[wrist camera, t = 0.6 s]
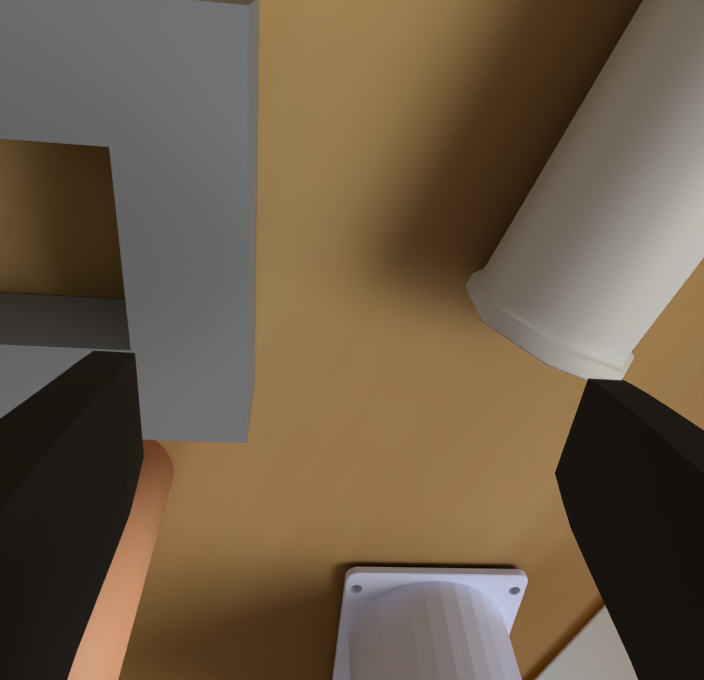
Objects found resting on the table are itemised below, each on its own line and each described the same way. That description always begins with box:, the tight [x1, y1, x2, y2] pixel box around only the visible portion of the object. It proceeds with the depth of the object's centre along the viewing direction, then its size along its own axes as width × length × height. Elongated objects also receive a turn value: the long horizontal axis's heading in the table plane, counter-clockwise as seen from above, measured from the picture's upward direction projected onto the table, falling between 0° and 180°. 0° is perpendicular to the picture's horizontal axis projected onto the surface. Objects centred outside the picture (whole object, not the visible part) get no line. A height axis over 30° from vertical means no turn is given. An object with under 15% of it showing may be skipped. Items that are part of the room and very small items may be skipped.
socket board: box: [0, 0, 259, 443], centre depth 17 cm, size 12×12×3 cm
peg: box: [67, 440, 173, 680], centre depth 20 cm, size 4×4×9 cm
